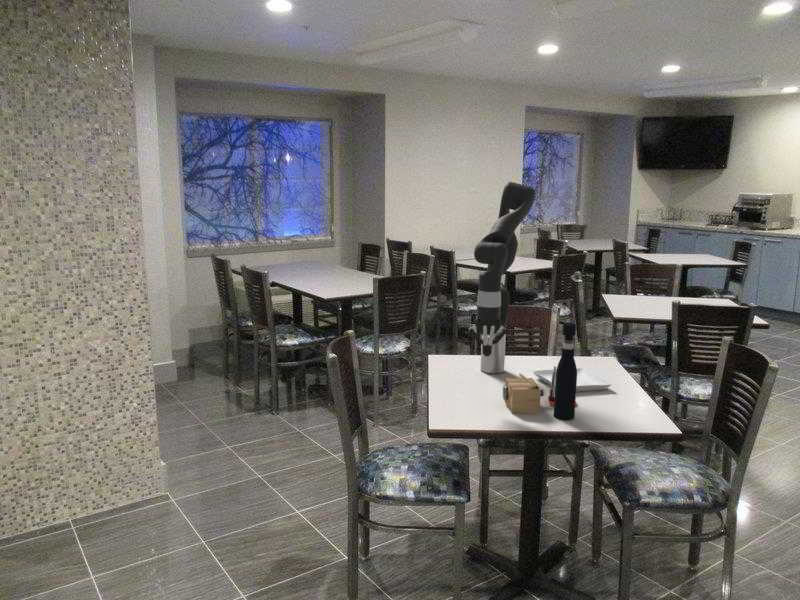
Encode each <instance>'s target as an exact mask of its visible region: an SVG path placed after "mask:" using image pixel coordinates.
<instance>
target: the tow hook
mask: <svg viewBox="0 0 800 600" xmlns="http://www.w3.org/2000/svg"><path fill="white" fill-rule="evenodd" d="M553 369H554V370H553ZM553 369H552V370H553V373H552V382H551V385H550V389H549V394H548V396H547V400H548V404H549V405H550V407H553V408H554V397H555V379H556V369H557V367H556V366H553ZM577 406H578V402H577V401H575V408H577Z"/></svg>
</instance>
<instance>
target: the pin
mask: <svg viewBox="0 0 800 600" xmlns="http://www.w3.org/2000/svg"><path fill="white" fill-rule="evenodd" d="M540 389H541V396H540V398H541V397H544V394H545V393H544V392H545V391H544V389H543V388H540ZM502 399H503V400H507V399H508V387H507V386H505V385H503V386H502Z"/></svg>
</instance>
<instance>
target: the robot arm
mask: <svg viewBox="0 0 800 600" xmlns="http://www.w3.org/2000/svg"><path fill="white" fill-rule="evenodd" d="M535 198H536V190H535V188H534V187H531V186H528V185H524V184H521V183H518V182H513V181H508V182H507V183H506V184H505V185H504V188H503V190H502V194H501V199H500V204H499V213H498V219H497V220H496V221H495V223H494V224H493V225H492V228H491V230H490V231H489V233H487V234H486V235H485V236H484V237H483V238H482V239H480V240H479V241H478V243H477V244H476V246H475V248H474V251H473V256H474V259H475V261H476V262H477V263H478V264H481V265H487V268H486V270H485V271H483V272H481V273H479V276H478V292H477V300H476V301H477V302H476V303H477V304H476V320H475V322H474V325H472V326H470V327H468V331H469V332H470V334H471V335H472V336H473V339H475V341H476V342H477V343H478V344H481V345H480V346H481V348H480V350H481V351H480V371H481V372H482V371H483V373H485V372H486V374H491V373H492V374H494V375H495V373H498V374H502V372H503V373H504V372H505V361H506V338H507V337H506V335H507V332H508V329H507V324H508V321H509V320H508V319H509V317H508V316H509V310H510V309H509V308H510V307H509V306H510V293H509V290H508V289H507V287H505V286H502V276H503V275H504V274H505V273H506V272H507V271H508V270H509V269H510V268H511V267H512V265H513V264H514V262H515V259H516V255H517V252H518V248H519V243H518V238H517V235H516V233H515V231H516V229H518V227H519V225H520V224H521V223H522V222H523V220H525V218H526V217H527V216H528V214H529V213H530V211H531V210H532V208H533V205H534V203H535V200H536V199H535ZM511 210H512V211H511ZM510 211H511V212H510ZM477 331H478V332H479V333H480V334H481V338H480V337H479V335H478V333H477Z"/></svg>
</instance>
